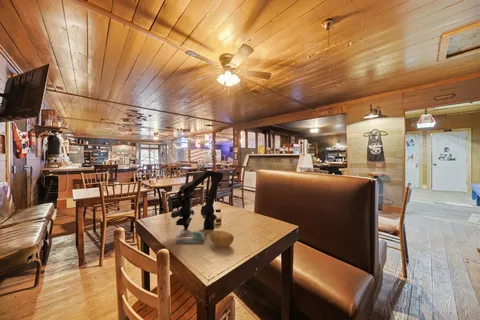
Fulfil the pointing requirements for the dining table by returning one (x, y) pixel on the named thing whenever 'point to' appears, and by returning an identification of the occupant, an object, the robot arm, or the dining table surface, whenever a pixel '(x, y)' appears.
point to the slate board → (190, 239)
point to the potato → (221, 238)
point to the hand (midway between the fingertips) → (185, 230)
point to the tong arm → (192, 233)
